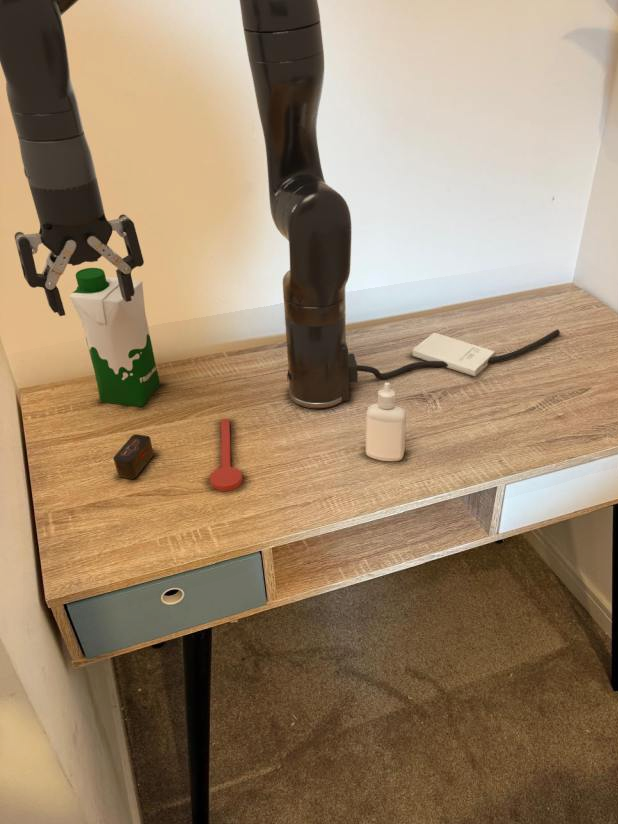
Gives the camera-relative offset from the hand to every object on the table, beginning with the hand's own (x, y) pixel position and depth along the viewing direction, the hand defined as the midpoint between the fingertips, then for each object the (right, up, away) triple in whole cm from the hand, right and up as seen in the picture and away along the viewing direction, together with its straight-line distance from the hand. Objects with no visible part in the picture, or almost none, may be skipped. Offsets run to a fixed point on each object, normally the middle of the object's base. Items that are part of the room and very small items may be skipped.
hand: (94, 306), depth 97 cm
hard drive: (+50, 0, +35) cm, 61 cm away
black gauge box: (+2, -20, +10) cm, 22 cm away
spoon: (+15, -19, +11) cm, 27 cm away
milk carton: (-3, -8, +23) cm, 25 cm away
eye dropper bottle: (+38, -19, +12) cm, 44 cm away
